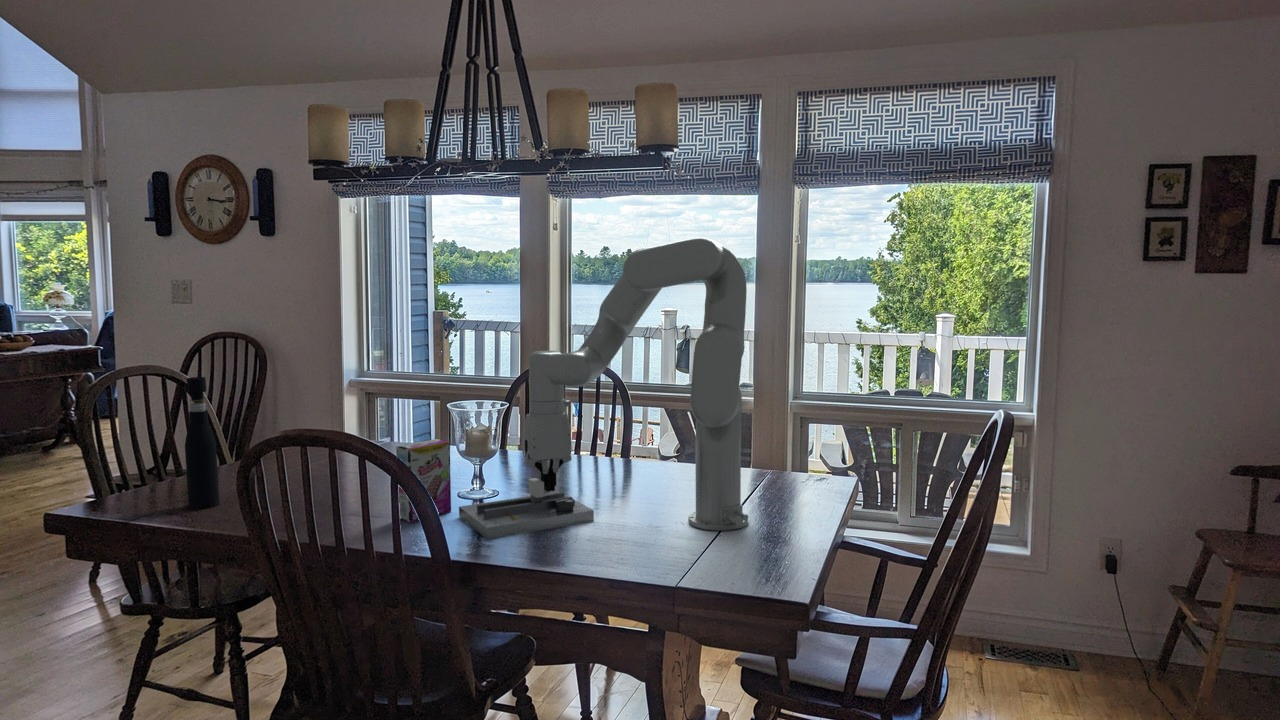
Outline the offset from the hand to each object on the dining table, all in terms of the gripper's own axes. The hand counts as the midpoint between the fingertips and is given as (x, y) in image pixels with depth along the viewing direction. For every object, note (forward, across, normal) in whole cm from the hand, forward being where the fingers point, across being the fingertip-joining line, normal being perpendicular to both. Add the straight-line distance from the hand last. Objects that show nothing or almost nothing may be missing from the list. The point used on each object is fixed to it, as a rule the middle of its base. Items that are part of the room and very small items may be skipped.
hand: (548, 489), depth 187 cm
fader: (+3, +3, 0) cm, 4 cm away
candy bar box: (+6, +24, -14) cm, 28 cm away
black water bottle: (+6, +66, -50) cm, 83 cm away
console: (+6, +6, 0) cm, 8 cm away
